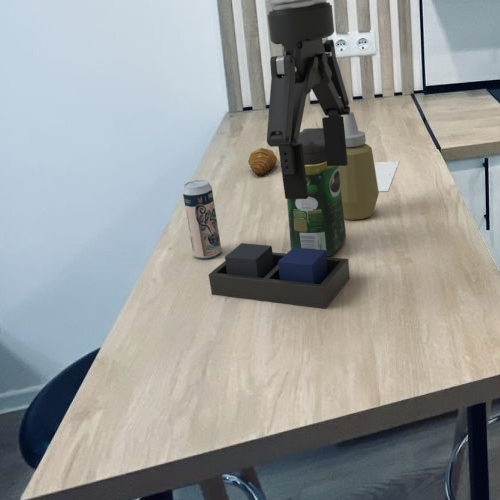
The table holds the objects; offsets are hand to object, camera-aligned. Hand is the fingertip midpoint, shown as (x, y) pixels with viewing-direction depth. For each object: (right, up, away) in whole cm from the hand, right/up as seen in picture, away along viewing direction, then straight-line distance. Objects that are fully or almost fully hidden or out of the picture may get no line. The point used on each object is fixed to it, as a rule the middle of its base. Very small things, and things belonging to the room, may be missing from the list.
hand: (318, 180), depth 84 cm
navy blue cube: (-1, -14, +7) cm, 15 cm away
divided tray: (-4, -14, +9) cm, 17 cm away
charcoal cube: (-8, -13, +11) cm, 19 cm away
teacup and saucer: (+11, +6, +53) cm, 54 cm away
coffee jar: (+2, -9, +20) cm, 22 cm away
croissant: (-5, +9, +66) cm, 67 cm away
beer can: (-16, -10, +23) cm, 30 cm away
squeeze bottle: (+10, -3, +31) cm, 33 cm away
